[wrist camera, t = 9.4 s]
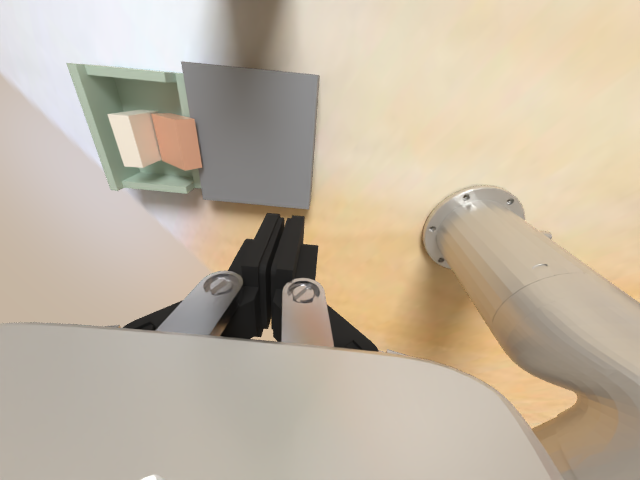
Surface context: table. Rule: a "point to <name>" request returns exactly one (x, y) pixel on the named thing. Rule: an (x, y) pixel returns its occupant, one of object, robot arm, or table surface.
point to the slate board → (253, 133)
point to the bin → (127, 95)
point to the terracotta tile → (177, 140)
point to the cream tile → (135, 137)
